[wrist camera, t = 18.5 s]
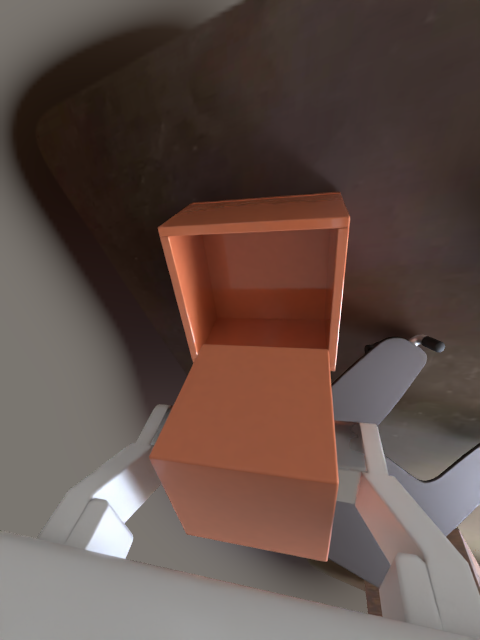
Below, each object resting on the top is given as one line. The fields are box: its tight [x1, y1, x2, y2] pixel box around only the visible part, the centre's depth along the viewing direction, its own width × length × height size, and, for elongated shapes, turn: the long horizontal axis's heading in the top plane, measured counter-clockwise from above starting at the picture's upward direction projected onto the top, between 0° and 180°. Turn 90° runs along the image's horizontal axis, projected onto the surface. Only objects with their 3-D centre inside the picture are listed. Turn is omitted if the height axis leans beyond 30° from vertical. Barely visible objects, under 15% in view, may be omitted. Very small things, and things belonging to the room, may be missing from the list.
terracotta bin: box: [158, 192, 350, 371], centre depth 22 cm, size 11×11×6 cm
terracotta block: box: [149, 344, 339, 562], centre depth 10 cm, size 4×4×4 cm
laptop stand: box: [328, 335, 480, 588], centre depth 31 cm, size 23×23×9 cm
